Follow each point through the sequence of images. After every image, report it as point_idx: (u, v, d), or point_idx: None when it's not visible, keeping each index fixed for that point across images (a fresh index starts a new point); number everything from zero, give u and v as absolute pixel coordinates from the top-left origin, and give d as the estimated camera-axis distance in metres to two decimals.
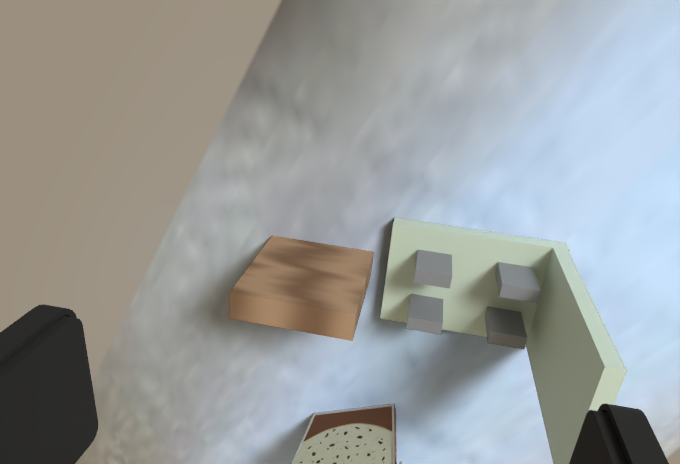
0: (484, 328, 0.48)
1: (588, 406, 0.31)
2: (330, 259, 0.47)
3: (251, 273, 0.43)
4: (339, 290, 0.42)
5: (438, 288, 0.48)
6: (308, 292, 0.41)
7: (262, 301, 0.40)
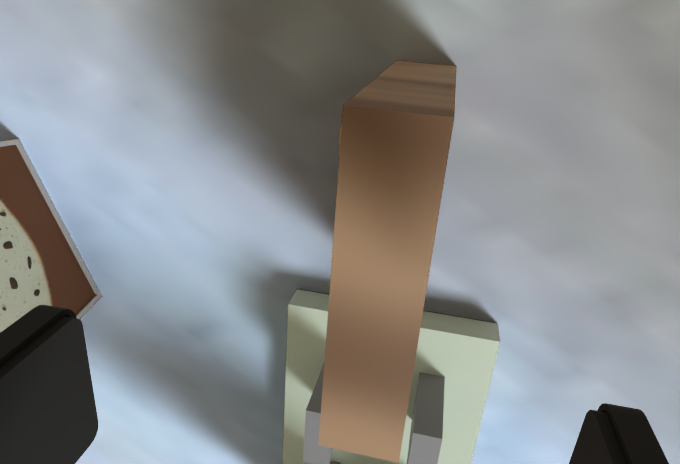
0: (298, 455, 0.29)
1: None
2: None
3: None
4: None
5: None
6: None
7: (423, 231, 0.12)
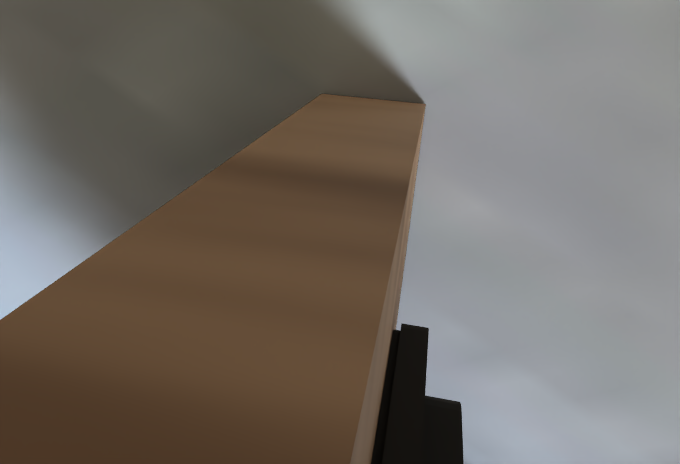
0: None
1: None
2: None
3: (389, 299, 0.05)
4: None
5: None
6: None
7: None
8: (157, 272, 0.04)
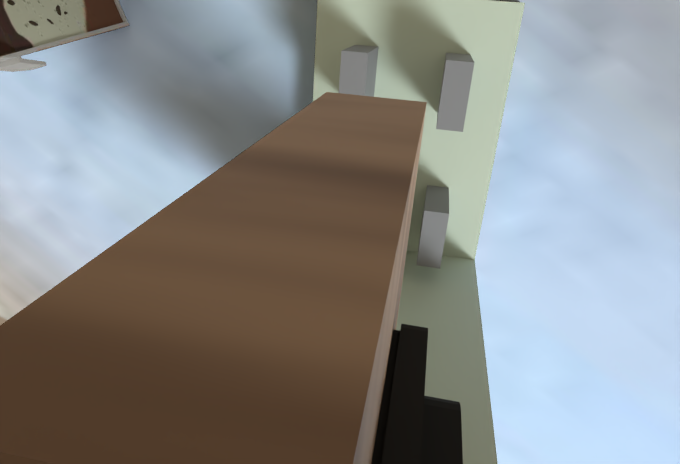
0: None
1: None
2: None
3: (394, 279, 0.06)
4: None
5: (393, 96, 0.27)
6: None
7: None
8: (186, 249, 0.04)
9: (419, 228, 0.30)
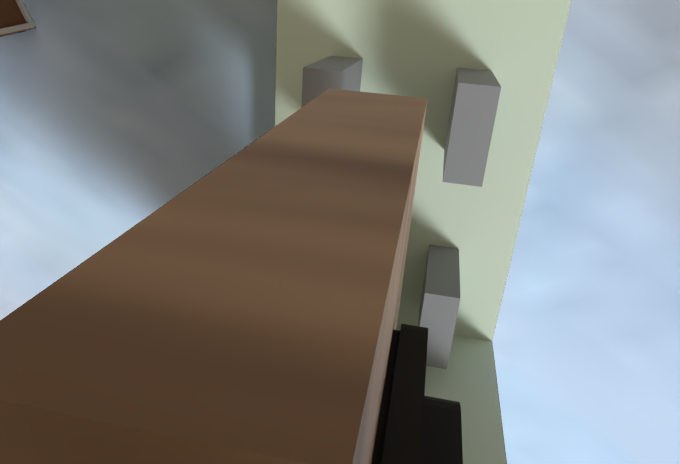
0: None
1: None
2: None
3: (396, 265, 0.06)
4: None
5: None
6: None
7: None
8: (199, 234, 0.05)
9: (419, 299, 0.22)
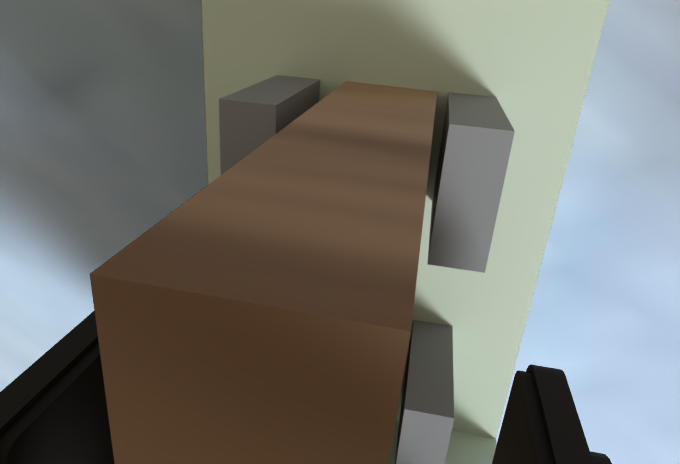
0: None
1: None
2: None
3: None
4: None
5: None
6: None
7: None
8: (264, 190, 0.06)
9: None
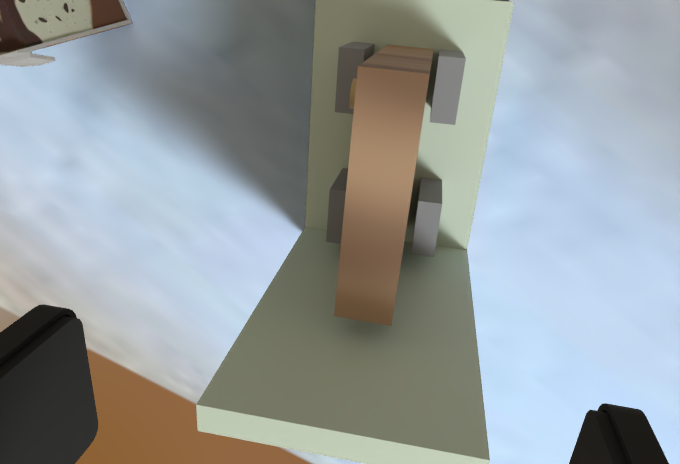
0: (322, 168, 0.31)
1: (392, 437, 0.17)
2: None
3: None
4: None
5: None
6: None
7: (409, 151, 0.18)
8: (382, 61, 0.19)
9: (414, 219, 0.31)
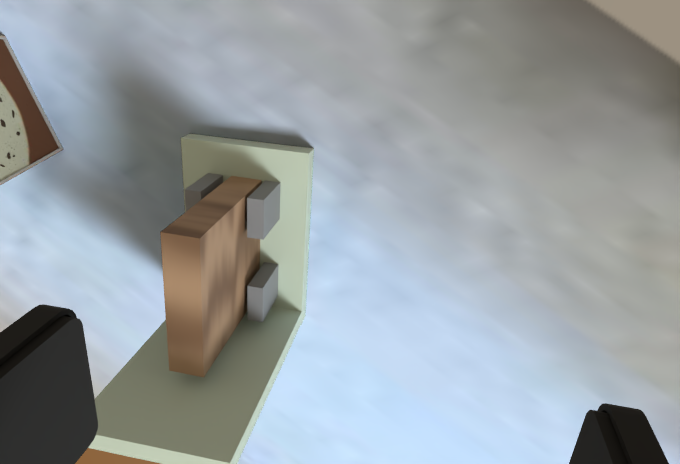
0: None
1: (178, 449, 0.30)
2: (246, 272, 0.39)
3: (222, 225, 0.33)
4: (221, 328, 0.36)
5: None
6: (215, 307, 0.34)
7: (196, 278, 0.31)
8: (187, 219, 0.32)
9: None
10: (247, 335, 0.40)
